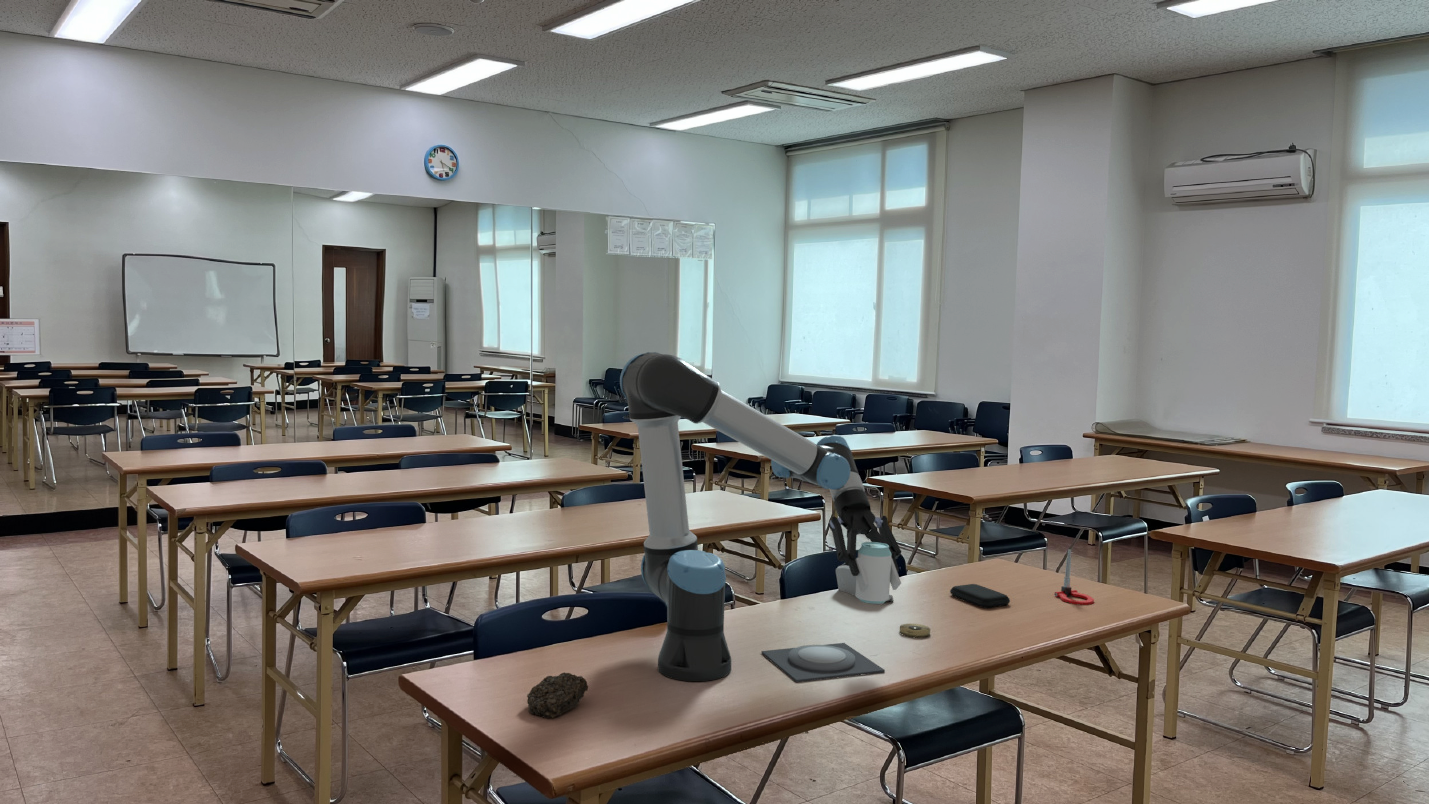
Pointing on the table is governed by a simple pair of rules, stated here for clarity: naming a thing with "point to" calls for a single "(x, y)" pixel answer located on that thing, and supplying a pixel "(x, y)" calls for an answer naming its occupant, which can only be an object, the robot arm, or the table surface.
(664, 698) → the table surface
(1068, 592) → the tow hook
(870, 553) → the can
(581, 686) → the concrete sample
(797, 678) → the flange station
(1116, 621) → the table surface
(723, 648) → the robot arm
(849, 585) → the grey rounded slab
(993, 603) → the carrying case or bag
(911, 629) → the small brass flange
